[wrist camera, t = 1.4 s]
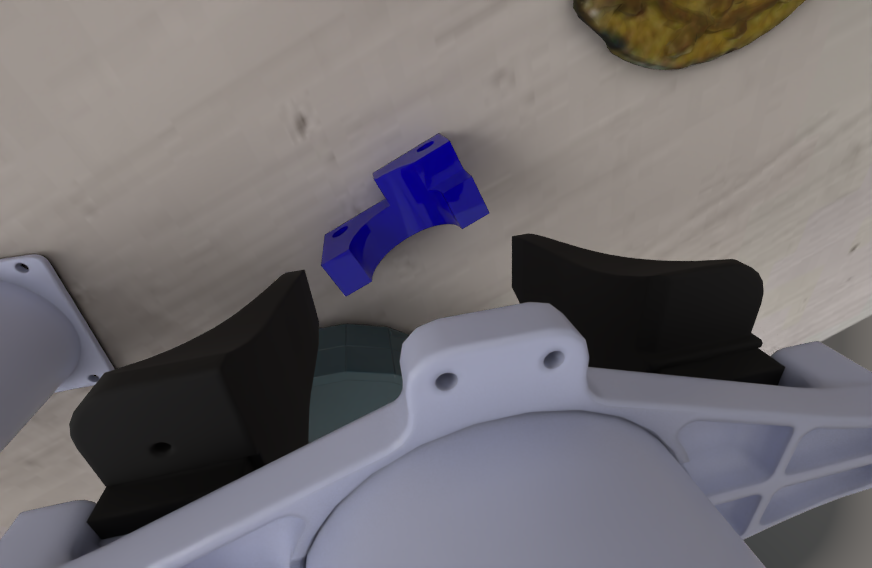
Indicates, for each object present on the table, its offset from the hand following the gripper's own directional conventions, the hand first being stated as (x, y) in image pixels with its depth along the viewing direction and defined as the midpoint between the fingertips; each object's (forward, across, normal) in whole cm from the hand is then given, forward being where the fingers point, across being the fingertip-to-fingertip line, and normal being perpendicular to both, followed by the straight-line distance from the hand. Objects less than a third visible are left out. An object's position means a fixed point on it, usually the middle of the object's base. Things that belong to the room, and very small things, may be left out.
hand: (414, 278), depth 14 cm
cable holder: (+10, 0, 0) cm, 10 cm away
